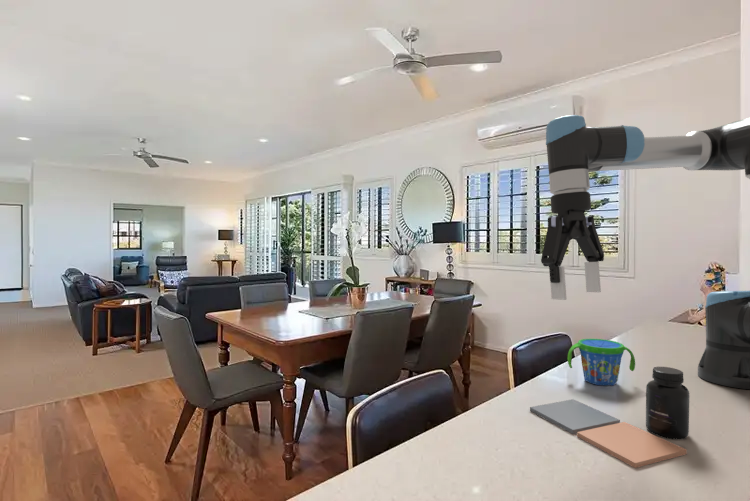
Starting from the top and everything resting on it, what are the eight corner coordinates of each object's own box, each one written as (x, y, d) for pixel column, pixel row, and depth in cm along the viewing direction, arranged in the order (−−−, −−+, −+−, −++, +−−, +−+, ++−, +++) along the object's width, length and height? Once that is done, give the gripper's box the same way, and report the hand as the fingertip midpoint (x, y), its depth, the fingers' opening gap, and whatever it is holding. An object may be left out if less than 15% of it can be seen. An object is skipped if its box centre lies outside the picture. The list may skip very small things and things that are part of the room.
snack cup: (629, 378, 113) (629, 339, 112) (641, 391, 103) (641, 349, 102) (565, 373, 117) (564, 336, 117) (570, 386, 107) (570, 346, 107)
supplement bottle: (649, 437, 80) (649, 373, 79) (642, 422, 86) (642, 363, 86) (694, 443, 77) (694, 377, 77) (683, 427, 83) (683, 366, 83)
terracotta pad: (624, 425, 84) (624, 421, 84) (686, 454, 73) (686, 449, 73) (577, 436, 80) (577, 432, 80) (635, 468, 69) (635, 463, 69)
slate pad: (573, 402, 97) (573, 399, 97) (619, 423, 85) (619, 419, 85) (530, 410, 93) (529, 407, 93) (573, 434, 81) (572, 429, 81)
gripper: (583, 197, 99) (589, 288, 99) (517, 194, 84) (525, 301, 84) (616, 192, 93) (624, 289, 93) (552, 187, 78) (561, 303, 78)
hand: (577, 295), depth 88 cm, fingers open, 13 cm apart
